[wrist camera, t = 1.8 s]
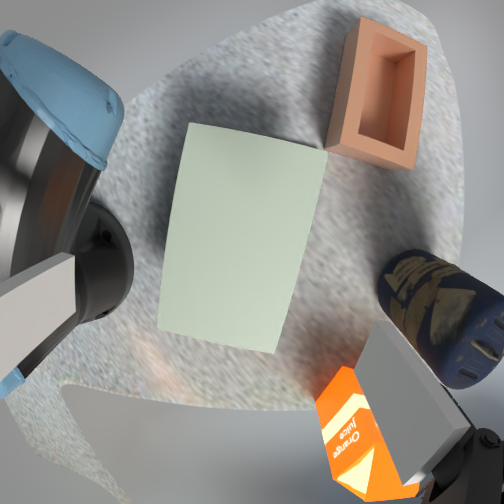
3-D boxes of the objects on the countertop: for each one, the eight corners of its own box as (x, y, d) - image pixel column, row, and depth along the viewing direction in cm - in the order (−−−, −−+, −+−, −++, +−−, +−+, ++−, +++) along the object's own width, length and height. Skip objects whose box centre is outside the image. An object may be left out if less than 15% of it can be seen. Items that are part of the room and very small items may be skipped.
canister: (410, 230, 31) (515, 278, 14) (444, 277, 33) (533, 338, 16) (359, 287, 33) (433, 377, 16) (398, 328, 35) (467, 413, 17)
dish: (323, 149, 29) (339, 143, 23) (345, 38, 26) (360, 16, 20) (387, 170, 30) (413, 170, 24) (403, 61, 26) (427, 46, 20)
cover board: (164, 316, 27) (156, 328, 25) (195, 127, 23) (189, 122, 20) (272, 339, 28) (274, 353, 25) (321, 154, 23) (328, 152, 21)
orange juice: (359, 412, 39) (395, 511, 20) (314, 402, 38) (339, 516, 19) (387, 377, 37) (442, 476, 18) (342, 364, 36) (389, 482, 17)
